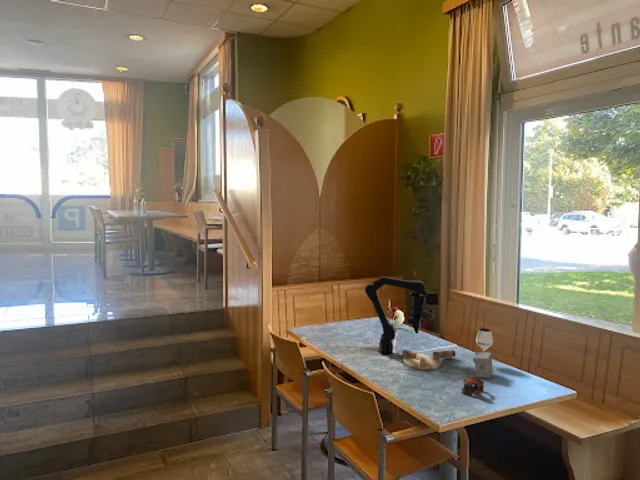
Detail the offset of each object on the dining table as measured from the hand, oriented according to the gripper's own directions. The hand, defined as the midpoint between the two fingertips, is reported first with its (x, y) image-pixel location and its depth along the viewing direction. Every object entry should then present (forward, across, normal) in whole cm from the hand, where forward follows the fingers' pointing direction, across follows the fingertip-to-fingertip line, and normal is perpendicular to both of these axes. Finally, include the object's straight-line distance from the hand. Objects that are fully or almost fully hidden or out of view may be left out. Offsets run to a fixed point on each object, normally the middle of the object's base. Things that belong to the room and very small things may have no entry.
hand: (416, 333), depth 254 cm
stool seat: (+12, -10, -6) cm, 17 cm away
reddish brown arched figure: (+12, -36, -34) cm, 52 cm away
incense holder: (+12, -13, -35) cm, 39 cm away
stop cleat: (+12, +4, -16) cm, 20 cm away
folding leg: (+10, -1, -15) cm, 18 cm away
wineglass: (+12, +3, -34) cm, 36 cm away
